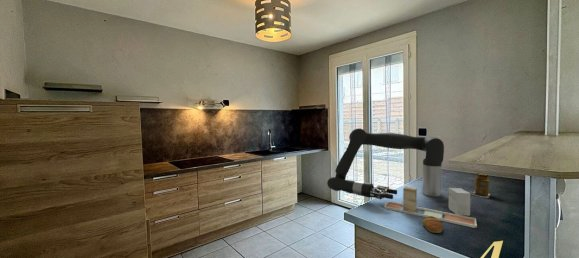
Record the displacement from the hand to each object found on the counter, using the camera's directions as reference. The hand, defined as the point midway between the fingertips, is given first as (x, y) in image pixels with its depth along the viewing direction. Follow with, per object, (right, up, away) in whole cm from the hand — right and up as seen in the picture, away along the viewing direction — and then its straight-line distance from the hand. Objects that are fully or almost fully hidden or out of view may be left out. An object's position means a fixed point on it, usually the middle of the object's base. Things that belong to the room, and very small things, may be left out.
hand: (395, 194), depth 115 cm
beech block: (+5, -7, -4) cm, 9 cm away
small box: (+27, -7, -6) cm, 29 cm away
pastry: (+6, -8, -21) cm, 23 cm away
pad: (+13, -7, -10) cm, 17 cm away
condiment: (+57, -5, +17) cm, 60 cm away
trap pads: (+11, -7, -8) cm, 15 cm away
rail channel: (+11, -7, -8) cm, 15 cm away
